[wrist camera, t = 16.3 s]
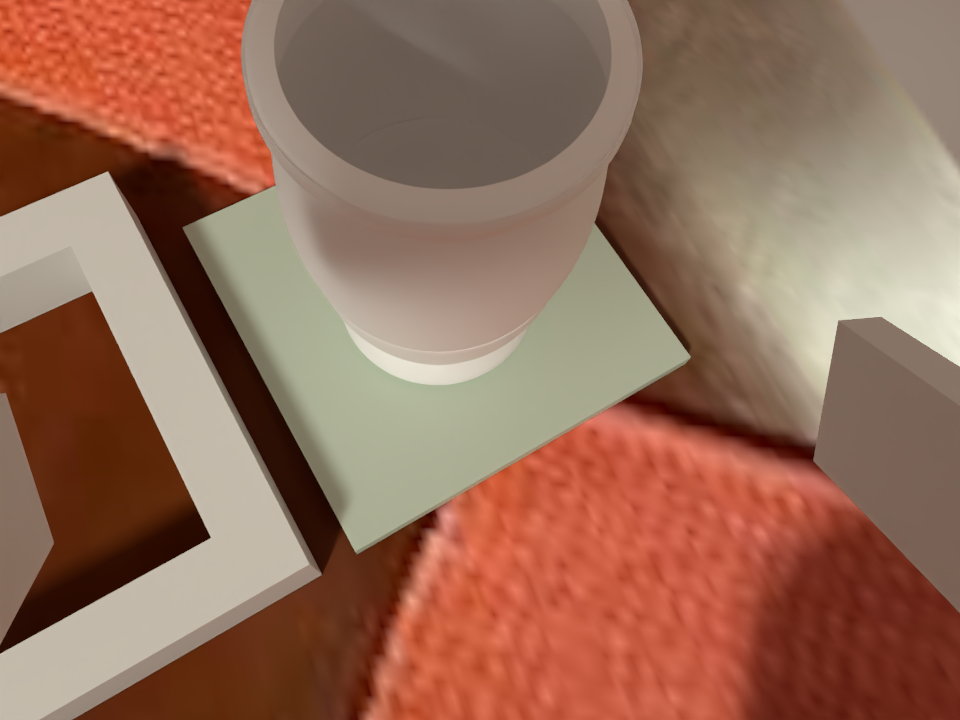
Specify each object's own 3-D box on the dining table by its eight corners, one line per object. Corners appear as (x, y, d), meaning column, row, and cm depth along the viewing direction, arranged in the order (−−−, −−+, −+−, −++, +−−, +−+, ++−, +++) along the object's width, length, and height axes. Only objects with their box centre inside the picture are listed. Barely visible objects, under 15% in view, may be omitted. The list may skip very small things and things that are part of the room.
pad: (187, 236, 35) (182, 227, 35) (494, 97, 39) (496, 86, 38) (357, 554, 31) (355, 551, 30) (685, 363, 35) (690, 357, 34)
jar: (344, 171, 36) (292, -139, 22) (569, 207, 36) (659, -78, 22) (290, 391, 32) (186, 185, 18) (542, 431, 32) (629, 256, 18)
